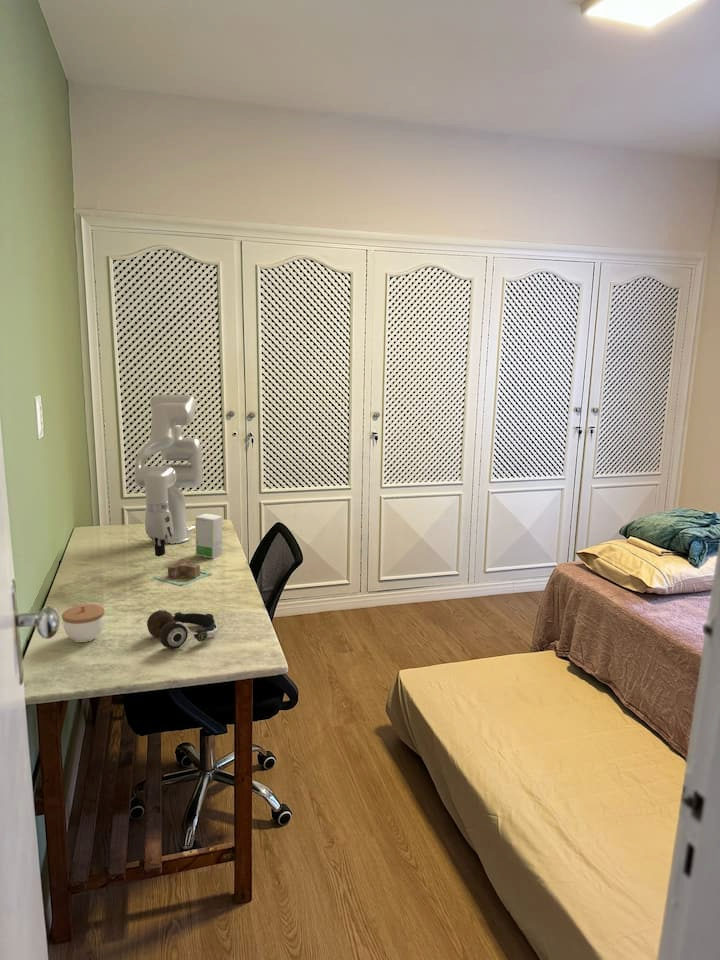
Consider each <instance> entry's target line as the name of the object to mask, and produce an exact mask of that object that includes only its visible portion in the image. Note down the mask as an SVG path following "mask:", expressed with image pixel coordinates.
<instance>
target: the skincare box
mask: <svg viewBox="0 0 720 960" xmlns="http://www.w3.org/2000/svg"><path fill="white" fill-rule="evenodd" d="M220 554H221V555H222V554H223V516H222V515H217V514H212V513H211V514H210V513H203V514H200V515H196V516H195V556H196V555H197V556H196V557H201V556H203V557H202V558H207V557H210V558H209V559H212V558H213V559H215V558H217V557H219V556H221V555H220ZM218 555H219V556H218ZM216 556H217V557H216ZM214 557H215V558H214Z"/></svg>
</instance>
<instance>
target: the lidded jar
mask: <svg viewBox="0 0 720 960" xmlns="http://www.w3.org/2000/svg"><path fill="white" fill-rule="evenodd" d="M105 612H106V611H105V608H104V607H103V606H102V605H99V604H88V603H87V604H82V605H81V604H80V605H79V604H78V605H75V606H72V607H69V608H67V609H65V610H64V611H63V613H62V614H61V619H62V625H63V626H62V627H63V629H64V632H65V635H67V636H68V638H69V639H71V640H72V641H73V640H74V641H77V642H86V641H90V642H92V641H91V640H93V639H95V638H96V637H97V638H98V636H99V635H100V634H101V632H102V631H103V629H104V625H105ZM97 638H96V639H97ZM96 639H95V640H96ZM74 641H73V642H74ZM93 641H94V640H93ZM77 642H76V643H77ZM86 643H87V642H86Z"/></svg>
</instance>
